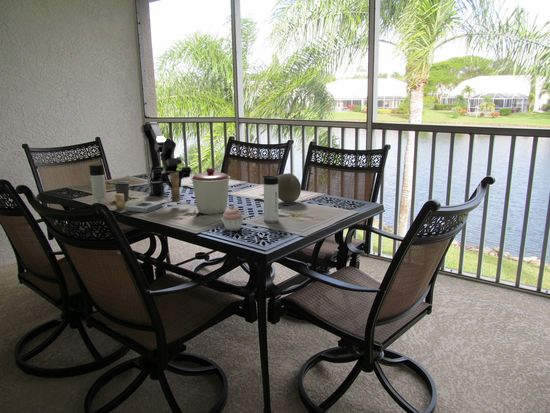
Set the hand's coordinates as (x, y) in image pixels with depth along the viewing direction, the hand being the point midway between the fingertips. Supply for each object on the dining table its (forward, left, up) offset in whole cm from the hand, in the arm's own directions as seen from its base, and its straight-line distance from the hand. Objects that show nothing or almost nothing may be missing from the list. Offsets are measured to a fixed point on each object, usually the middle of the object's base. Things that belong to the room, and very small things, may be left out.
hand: (175, 187), depth 209 cm
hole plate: (-14, -7, -10) cm, 19 cm away
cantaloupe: (+46, +30, -10) cm, 56 cm away
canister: (+20, 0, -10) cm, 22 cm away
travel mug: (+52, -4, -10) cm, 53 cm away
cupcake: (+42, -20, -10) cm, 48 cm away
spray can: (-42, -7, -10) cm, 44 cm away
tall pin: (-1, +1, -7) cm, 7 cm away
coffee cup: (-37, +4, -10) cm, 39 cm away
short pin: (-25, -11, -10) cm, 29 cm away
